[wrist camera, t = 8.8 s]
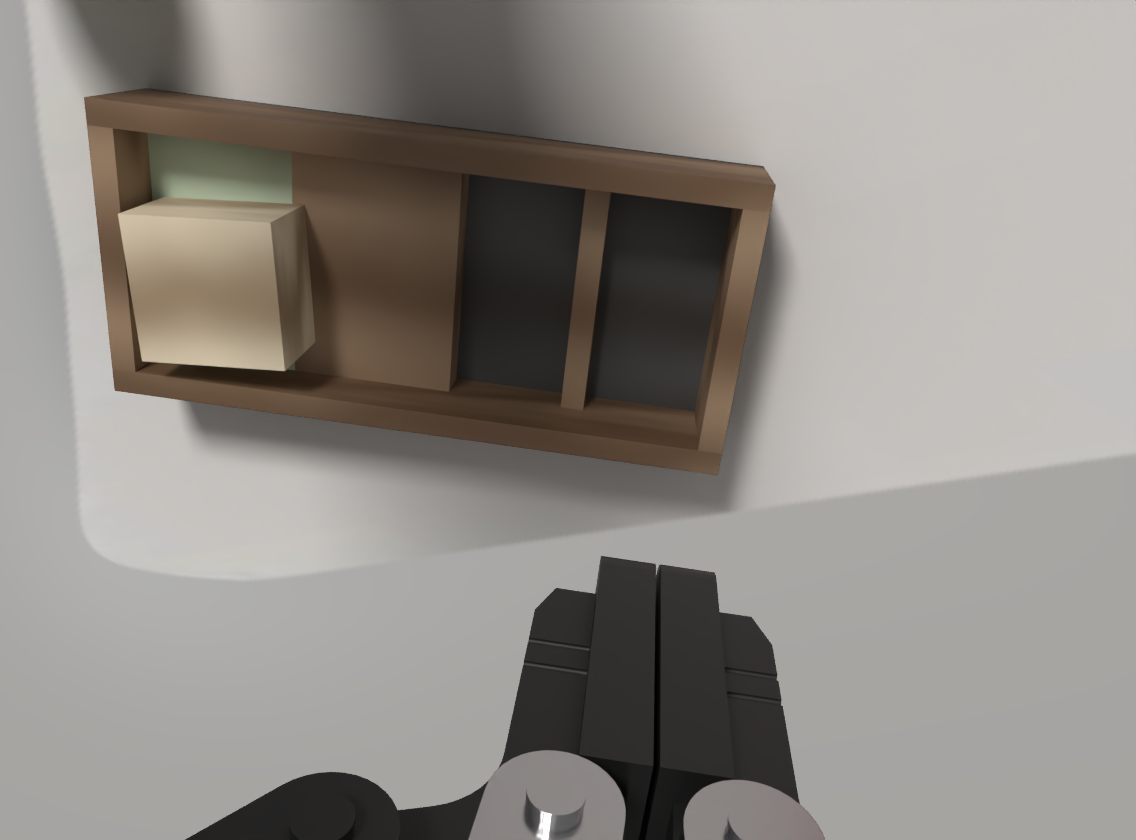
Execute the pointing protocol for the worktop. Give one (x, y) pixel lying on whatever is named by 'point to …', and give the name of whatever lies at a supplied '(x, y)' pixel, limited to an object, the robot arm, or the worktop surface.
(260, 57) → the worktop surface
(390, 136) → the divided wooden tray
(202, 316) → the block
